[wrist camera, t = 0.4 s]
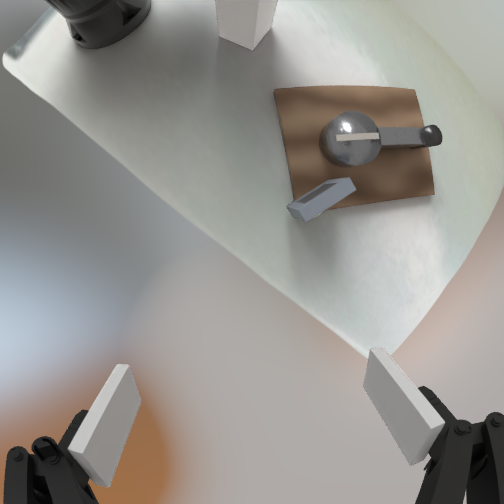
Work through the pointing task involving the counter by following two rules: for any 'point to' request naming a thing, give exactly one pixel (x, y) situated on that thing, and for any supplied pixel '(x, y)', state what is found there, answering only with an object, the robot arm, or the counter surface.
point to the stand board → (362, 176)
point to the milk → (245, 20)
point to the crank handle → (369, 139)
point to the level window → (321, 198)
